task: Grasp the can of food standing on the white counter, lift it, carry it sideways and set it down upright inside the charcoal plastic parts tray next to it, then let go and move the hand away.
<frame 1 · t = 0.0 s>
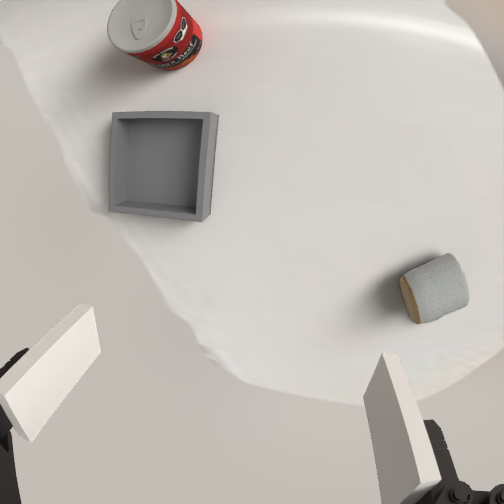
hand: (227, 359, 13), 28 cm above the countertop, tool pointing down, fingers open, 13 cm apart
parts tray: (166, 161, 38), on the countertop
canned food: (176, 44, 33), on the countertop
ceramic mug: (426, 285, 40), on the countertop
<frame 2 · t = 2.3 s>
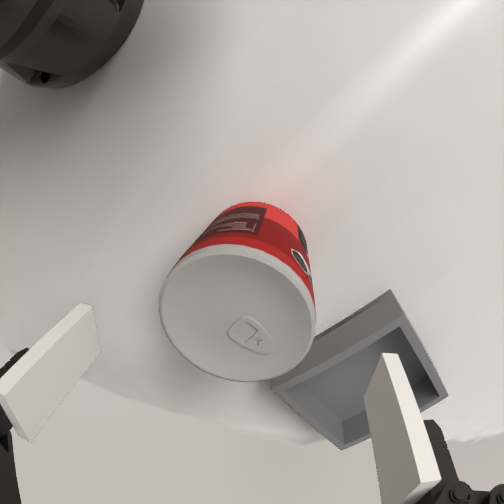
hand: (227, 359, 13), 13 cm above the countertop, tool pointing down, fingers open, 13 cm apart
parts tray: (362, 368, 28), on the countertop
canned food: (257, 247, 25), on the countertop
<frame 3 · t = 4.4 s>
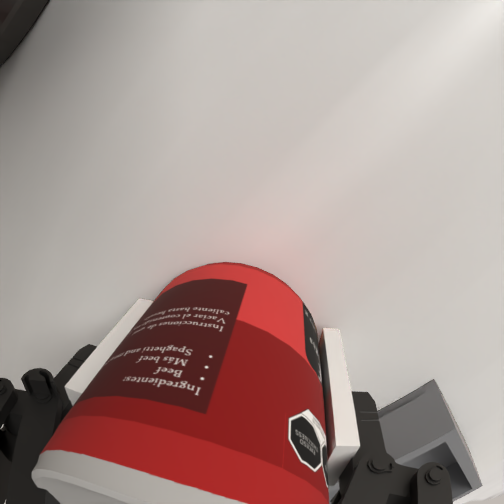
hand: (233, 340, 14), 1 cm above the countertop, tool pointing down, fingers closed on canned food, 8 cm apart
parts tray: (381, 462, 18), on the countertop
canned food: (236, 328, 15), on the countertop, touching gripper
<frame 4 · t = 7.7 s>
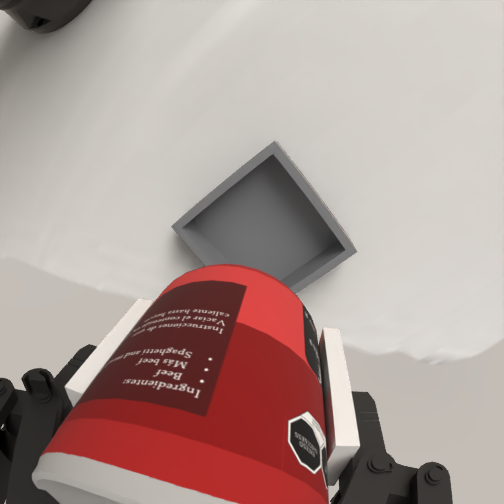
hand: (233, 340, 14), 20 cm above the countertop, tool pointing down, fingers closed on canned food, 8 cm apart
parts tray: (266, 227, 33), on the countertop
canned food: (236, 330, 15), point 19 cm above the countertop, touching gripper
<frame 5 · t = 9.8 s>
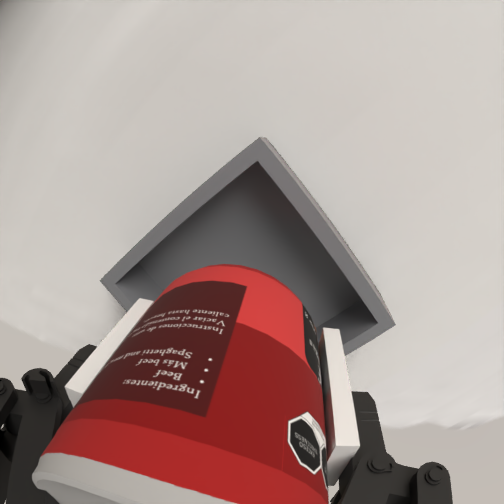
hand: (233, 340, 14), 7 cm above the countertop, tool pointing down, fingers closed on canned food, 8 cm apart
parts tray: (250, 276, 21), on the countertop
canned food: (236, 330, 15), point 6 cm above the countertop, touching gripper
when the fingers open (4 cm above the countertop, at t = 11.4 s): canned food drops 2 cm, resting on parts tray.
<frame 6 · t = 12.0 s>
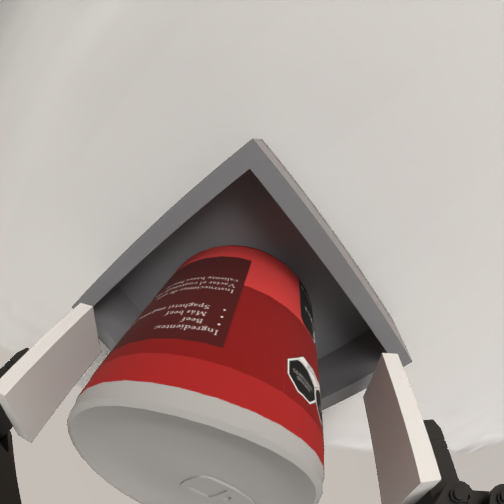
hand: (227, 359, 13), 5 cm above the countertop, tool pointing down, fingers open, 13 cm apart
parts tray: (244, 302, 18), on the countertop
canned food: (241, 305, 17), resting on parts tray
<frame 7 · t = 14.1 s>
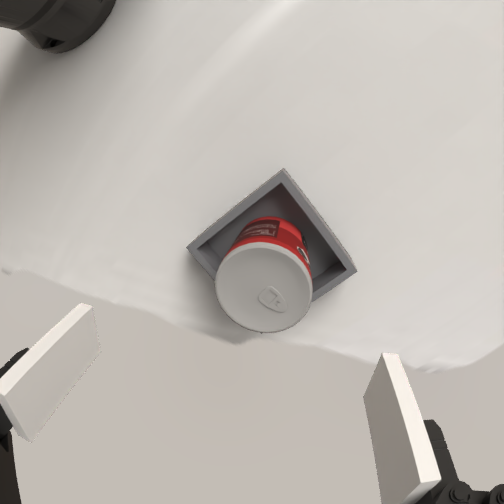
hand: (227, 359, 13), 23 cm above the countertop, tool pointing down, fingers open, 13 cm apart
parts tray: (273, 247, 36), on the countertop
canned food: (272, 248, 35), resting on parts tray
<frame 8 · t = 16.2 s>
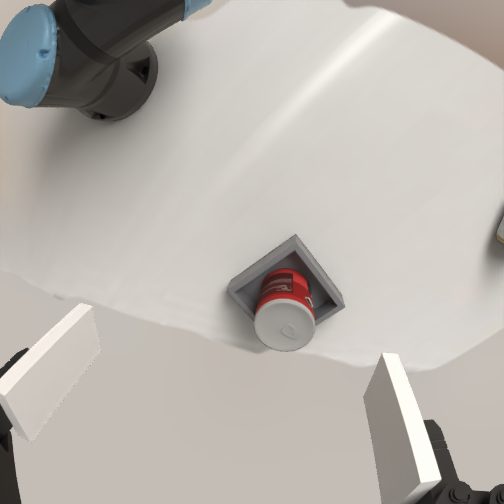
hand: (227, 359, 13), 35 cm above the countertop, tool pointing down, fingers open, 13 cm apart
parts tray: (287, 287, 50), on the countertop
canned food: (286, 288, 49), resting on parts tray
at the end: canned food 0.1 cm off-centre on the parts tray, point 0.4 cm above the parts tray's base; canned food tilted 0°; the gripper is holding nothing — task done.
